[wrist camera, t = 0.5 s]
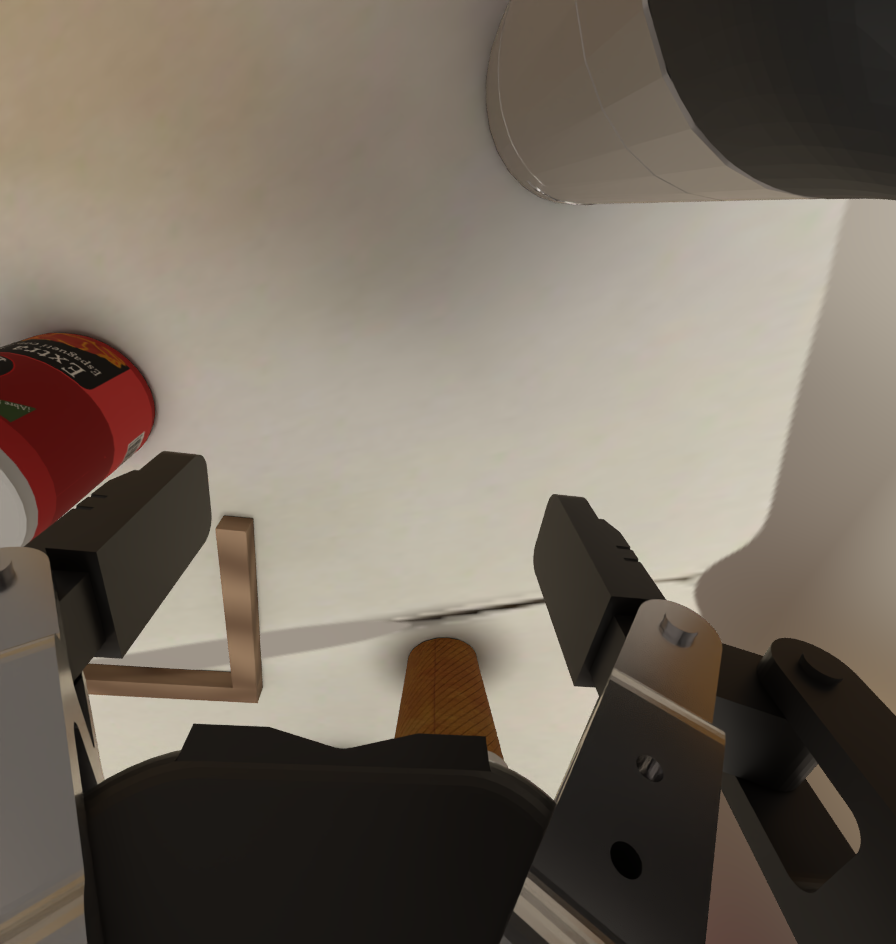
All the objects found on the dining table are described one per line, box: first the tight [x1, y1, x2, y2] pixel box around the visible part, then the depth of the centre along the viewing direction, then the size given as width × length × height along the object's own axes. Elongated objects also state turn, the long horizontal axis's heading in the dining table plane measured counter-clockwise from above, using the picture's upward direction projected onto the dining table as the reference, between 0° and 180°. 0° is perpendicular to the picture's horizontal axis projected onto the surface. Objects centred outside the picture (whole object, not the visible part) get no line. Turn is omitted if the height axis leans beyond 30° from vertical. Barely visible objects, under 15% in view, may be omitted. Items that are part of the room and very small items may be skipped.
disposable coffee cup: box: [395, 638, 508, 768], centre depth 36 cm, size 10×10×12 cm
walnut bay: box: [83, 516, 263, 703], centre depth 35 cm, size 20×18×2 cm
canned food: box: [0, 333, 155, 548], centre depth 23 cm, size 8×8×11 cm
